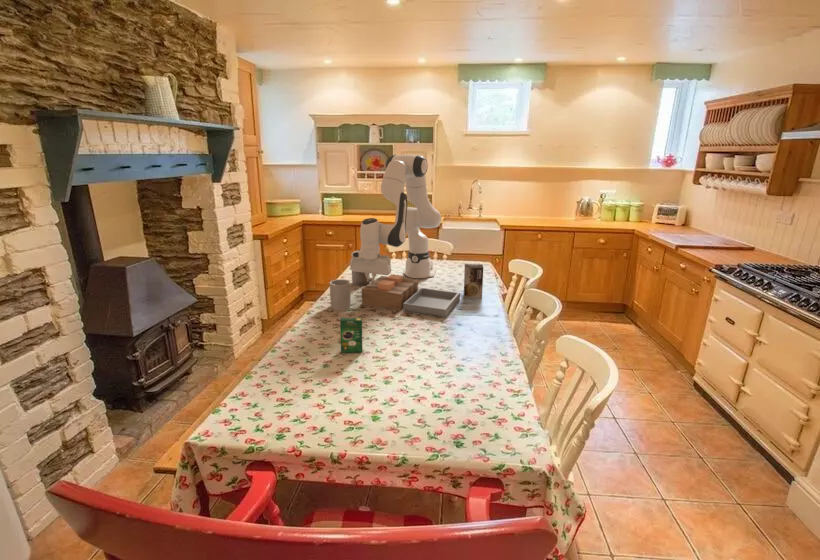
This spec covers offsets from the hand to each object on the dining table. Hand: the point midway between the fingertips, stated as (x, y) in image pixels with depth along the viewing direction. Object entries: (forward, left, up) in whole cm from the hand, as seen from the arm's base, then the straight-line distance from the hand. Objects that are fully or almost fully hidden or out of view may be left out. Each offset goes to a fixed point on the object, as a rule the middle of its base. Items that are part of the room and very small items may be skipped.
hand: (370, 281), depth 203 cm
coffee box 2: (-25, +44, -10) cm, 52 cm away
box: (-5, +30, -10) cm, 32 cm away
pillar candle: (-23, -18, -10) cm, 31 cm away
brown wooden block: (-5, +8, -10) cm, 14 cm away
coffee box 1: (+50, +17, -10) cm, 54 cm away
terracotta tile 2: (-10, +8, -2) cm, 13 cm away
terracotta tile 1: (0, +8, -2) cm, 8 cm away
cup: (+12, -10, -10) cm, 19 cm away
